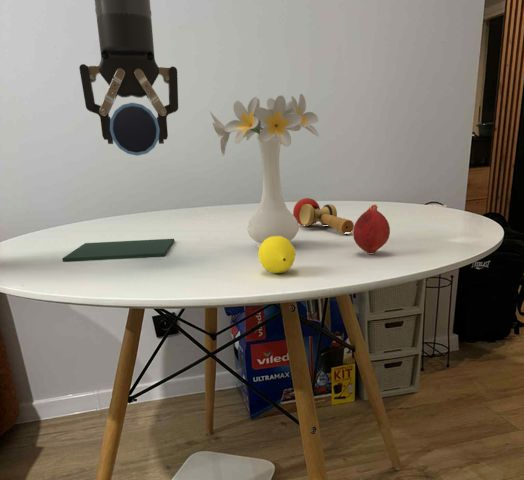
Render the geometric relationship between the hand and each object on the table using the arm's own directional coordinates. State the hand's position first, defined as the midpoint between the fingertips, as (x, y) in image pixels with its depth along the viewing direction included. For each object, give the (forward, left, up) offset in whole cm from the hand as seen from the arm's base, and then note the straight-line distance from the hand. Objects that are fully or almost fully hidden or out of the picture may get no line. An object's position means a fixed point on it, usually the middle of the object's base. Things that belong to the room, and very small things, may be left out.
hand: (136, 143), depth 77 cm
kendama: (+32, +24, -19) cm, 45 cm away
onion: (+36, -2, -19) cm, 41 cm away
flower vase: (+20, +8, -19) cm, 29 cm away
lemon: (+20, -11, -19) cm, 30 cm away
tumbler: (-1, +7, +2) cm, 7 cm away
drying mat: (-8, +12, -19) cm, 24 cm away
